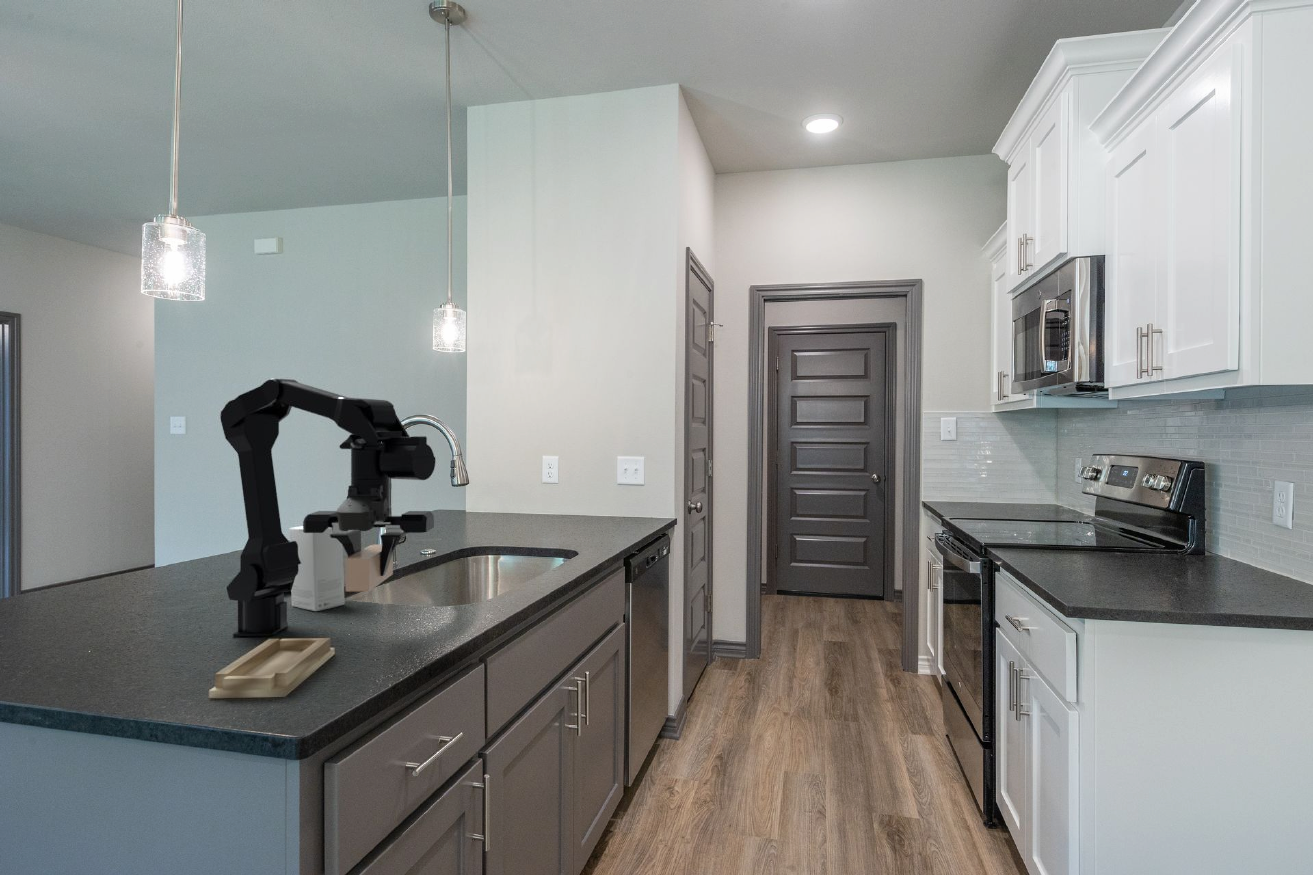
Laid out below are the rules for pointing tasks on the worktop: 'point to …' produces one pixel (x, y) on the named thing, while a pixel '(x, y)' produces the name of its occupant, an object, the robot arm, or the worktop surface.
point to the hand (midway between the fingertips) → (370, 575)
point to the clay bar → (366, 569)
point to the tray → (272, 668)
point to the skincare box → (318, 570)
